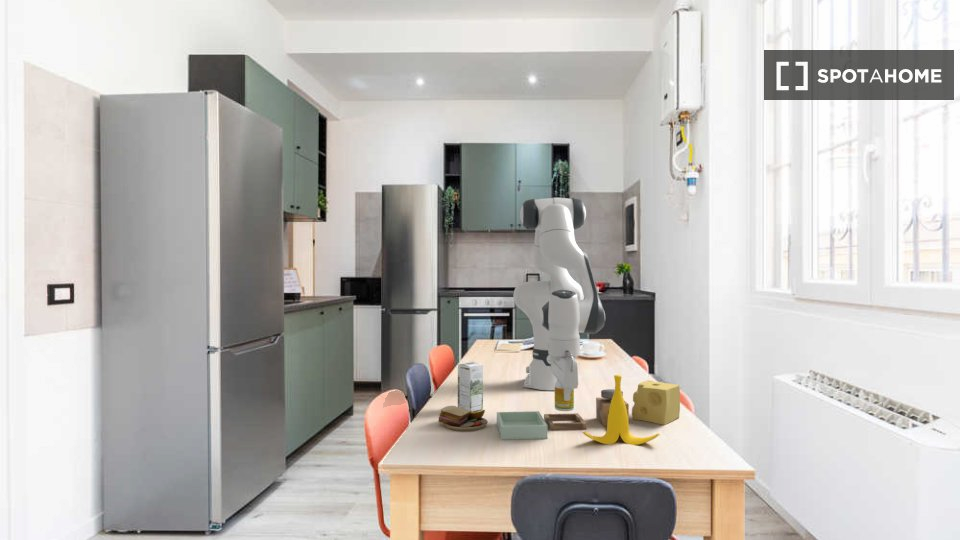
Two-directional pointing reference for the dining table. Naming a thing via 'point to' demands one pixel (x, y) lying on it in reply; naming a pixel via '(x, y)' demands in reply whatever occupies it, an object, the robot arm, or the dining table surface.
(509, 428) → the tray
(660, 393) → the cheese
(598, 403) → the tan square block
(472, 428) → the toy sandwich meal
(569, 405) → the supplement bottle
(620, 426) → the banana peel
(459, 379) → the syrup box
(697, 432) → the dining table surface
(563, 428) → the brown wooden frame
